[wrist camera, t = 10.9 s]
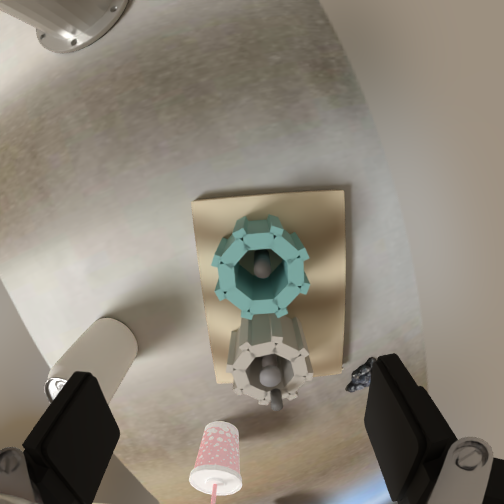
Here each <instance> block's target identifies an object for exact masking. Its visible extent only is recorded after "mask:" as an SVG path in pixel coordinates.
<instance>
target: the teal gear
mask: <svg viewBox="0 0 504 504" xmlns="http://www.w3.org/2000/svg"><path fill="white" fill-rule="evenodd" d="M258 249H272V250H273V251H274V252H275V253H277V254H278V255H279V256H280V257H281V258H282V262H281V263H280V264H279V265H278V267H277V268H276V269H275V270H274V271H273V272H272V273H271V274H270V275H269V276H268V277H267V278H258V277H257V276H256V275H252V274H251V273H250V272H248V271H247V270H246V269H245V268H243V267H242V266H241V265H240V264H239V260H240V259H241V258H242V257H243V255H244V254H245V253H246V252H247V251H248V250H258ZM307 259H309V256H308V254H307V251H306V249H305V247H304V246H303V244H302V242H301V241H300V239H299V237H298V236H297V234H296V232H294V233H292V234H289V233H288V232H287V231H286V230H284V229H283V227H282V225H281V222H280V220H279V218H278V217H276V216H273V215H270V214H269V215H268V218H267V220H254V221H248V219H247V217H246V216H244V217H242V218H240V219H238V220H237V221H236V224H235V227H234V230H233V232H232V235H231V236H230V237H229V238H228V239H226V238H223V237H222V239H221V241H220V244H219V246H218V248H217V250H216V252H215V254H214V257H213V261H212V264H211V266H214V267H217V268H218V275H219V278H218V282H217V285H216V288H215V291H214V292H215V294H216V295H217V297H218V299H219V300H220V301H221V300H223V299H227V300H229V301H230V302H231V303H232V304H234V305H235V306H236V307H238V308H239V309H240V310H241V317H242V318H246V319H249V320H252V317H253V315H254V314H268V313H275V314H276V316H277V318H279V317H282V316H284V315H286V314H288V310H287V306H288V305H289V304H290V303H291V302H292V301H293V300H294V299H295V298H296V297H297V296H298V294H299V293H302V294H305V295H306V294H307V292H308V289H309V287H310V282H309V280H308V278H307V276H306V273H305V271H304V263H303V261H305V260H307Z"/></svg>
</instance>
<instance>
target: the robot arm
mask: <svg viewBox="0 0 504 504" xmlns="http://www.w3.org/2000/svg"><path fill="white" fill-rule="evenodd" d="M127 3H128V0H0V10H1V11H3V12H5V13H7V14H9V15H11V16H13V17H15V18H17V19H19V20H21V21H23V22H25V23H27V24H29V25H31V26H33V27H35V28H36V34H37V38H38V40H39V43H40V44H41V45H42V46H43V47H44V48H46V49H48V50H50V51H52V52H55V53H70V52H74V51H77V50H80V49H82V48H84V47H86V46H88V45H90V44H91V43H93V42H94V41H96V40H97V39H99V38H100V37H101V36H102V35H104V34H105V33H106V32H107V31H108V30H109V29H110V28H111V27H112V26H113V25H114V24H115V22H116V21H117V20H118V19H119V17H120V16H121V14H122V13H123V11H124V9H125V8H126V5H127ZM364 423H365V428H366V431H367V433H368V436H369V439H370V441H371V444H372V447H373V449H374V452H375V455H376V458H377V460H378V463H379V466H380V469H381V471H382V474H383V477H384V480H385V483H386V485H387V488H388V491H389V494H390V497H391V499H392V501H393V502H395V501H397V502H398V504H504V460H502V459H498V458H493V451H492V448H491V447H490V445H489V444H488V443H487V442H485V441H484V440H482V439H480V438H476V437H465V438H461V439H459V440H458V439H457V438H456V436H455V434H454V433H453V431H452V430H451V428H450V427H449V425H448V423H447V422H446V420H445V419H444V417H443V416H442V414H441V413H440V411H439V409H438V408H437V406H436V405H435V403H434V402H433V400H432V399H431V397H430V396H429V394H428V393H427V391H426V390H425V389H424V388H423V387H422V386H418V385H417V384H416V382H415V381H414V379H413V378H412V376H411V375H410V373H409V372H408V370H407V369H406V367H405V366H404V364H403V363H402V361H401V360H400V358H399V357H398V355H397V354H395V353H394V354H388V355H383V356H379V357H378V359H377V361H374V362H373V364H372V371H371V379H370V386H369V393H368V399H367V406H366V412H365V418H364ZM119 437H120V430H119V427H118V425H117V423H116V421H115V419H114V417H113V415H112V413H111V410H110V408H109V406H108V404H107V402H106V399H105V397H104V395H103V392H102V390H101V388H100V385H99V383H98V380H97V378H96V377H94V376H93V375H92V374H91V373H90V372H82V371H75V372H74V373H73V374H72V376H71V377H70V378H69V380H68V381H67V382H66V384H65V385H64V386H63V388H62V389H61V390H60V392H59V393H58V394H57V396H56V397H55V399H54V400H53V401H52V403H51V404H50V406H49V407H48V408H47V410H46V411H45V413H44V414H43V415H42V417H41V418H40V420H39V421H38V423H37V424H36V425H35V427H34V428H33V430H32V431H31V433H30V434H29V435H28V437H27V439H26V440H25V441H24V443H23V444H22V446H23V447H24V448H25V450H24V452H22V451H21V450H20V449H18V448H16V447H7V448H4V449H2V450H0V504H92V503H93V500H94V498H95V495H96V492H97V490H98V488H99V485H100V483H101V480H102V478H103V475H104V473H105V471H106V468H107V466H108V463H109V461H110V459H111V456H112V454H113V451H114V449H115V447H116V444H117V442H118V440H119Z"/></svg>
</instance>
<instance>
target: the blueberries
mask: <svg viewBox="0 0 504 504" xmlns="http://www.w3.org/2000/svg"><path fill="white" fill-rule="evenodd" d="M374 361H376V360H375V359H374V358H372V357H371V358H369V359H368V360H367V362H366V363H365V364H363V365H361V366H360V367H358V369H356V370H355V371H353V373H352V381H351V382H350V383H349V384H348V385H347V387H346V389H345V390H346V391H349V392H354V391H356V390H361V389H363V388H364V387H368V386H370V379H371V371H372V364H373V362H374ZM343 369H344V368H343ZM343 369H342V370H343Z"/></svg>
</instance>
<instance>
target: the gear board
mask: <svg viewBox="0 0 504 504" xmlns="http://www.w3.org/2000/svg"><path fill="white" fill-rule="evenodd" d="M191 206H192V215H193V224H194V232H195V240H196V249H197V256H198V264H199V272H200V279H201V286H202V293H203V300H204V307H205V314H206V320H207V326H208V333H209V339H210V345H211V351H212V357H213V363H214V369H215V374H216V380H217V383H233V381H234V378H233V375H232V373H226V367H227V359H228V352H229V345H230V338H231V331H234V332H237V331H238V329H239V328H240V326H241V310H240V309H239V308H238V307H236V306H235V305H234V304H232V303H231V302H230V301H229V300H227V299H223V300H221V301H220V300H219V299H218V297H217V295H216V294H215V292H214V291H215V288H216V285H217V282H218V278H219V275H218V268H217V267H214V266H211V264H212V261H213V257H214V254H215V252H216V250H217V248H218V246H219V244H220V241H221V239H222V237H223V238H226V239H228V238H229V237H230V236H231V235H232V232H233V230H234V227H235V224H236V221H237V220H238V219H240V218H242V217H244V216H246V217H247V219H248V221H254V220H267V218H268V215H269V214H270V215H273V216H276V217H278V218H279V220H280V222H281V225H282V227H283V229H284V230H286V231H287V232H288V233H289V234H292V233H294V232H296V234H297V236H298V237H299V239H300V241H301V242H302V244H303V246H304V247H305V249H306V251H307V254H308V256H309V259H307V260H305V261H303V263H304V271H305V273H306V276H307V278H308V280H309V282H310V287H309V289H308V292H307V294H306V295H305V294H302V293H299V294H298V296H297V297H296V298H295V299H294V300H293V301H292V302H291V303H290V304H289V305H288V306H287V310H288V314H286V315H285V316H286V317H288V318H290V319H293V318H294V317H297V318H298V320H299V321H300V322H301V325H302V328H303V332H304V335H305V339H306V343H307V346H308V350H309V354H310V355H309V357H310V361H311V365H312V369H313V377H318V376H326V375H334V374H341V372H342V357H343V341H344V319H345V282H346V240H345V202H344V190H319V191H301V192H285V193H271V194H258V195H245V196H233V197H222V198H212V199H202V200H194V201H192V202H191ZM281 262H282V258H281V257H280V256H279V255H278V254H277V253H275V252H274V251H273V250H272V249H258V250H248V251H247V252H246V253H245V254H244V255H243V257H242V258H241V259H240V260H239V264H240V265H241V266H242V267H243V268H245V269H246V270H247V271H248V272H250V273H251V274H252V275H256V276H257V277H258V278H267V277H268V276H269V275H270V274H271V273H272V272H273V271H274V270H275V269H276V268H277V267H278V265H279V264H280V263H281ZM268 365H273V366H277V357H276V354H275V353H274V354H269V355H264V356H262V367H265V366H268Z"/></svg>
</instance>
